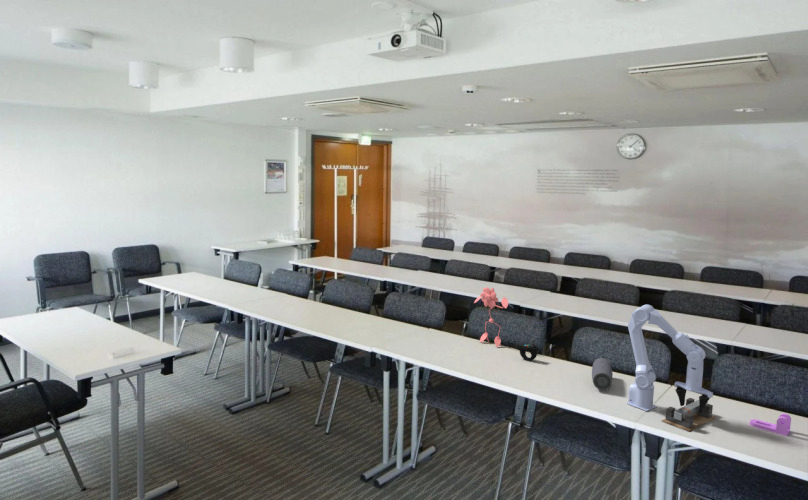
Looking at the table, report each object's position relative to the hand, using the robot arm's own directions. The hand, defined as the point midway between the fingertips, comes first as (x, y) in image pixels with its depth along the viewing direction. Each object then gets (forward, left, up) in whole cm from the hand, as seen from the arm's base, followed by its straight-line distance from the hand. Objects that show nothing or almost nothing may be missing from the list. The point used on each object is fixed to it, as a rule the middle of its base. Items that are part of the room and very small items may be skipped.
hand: (691, 408), depth 224 cm
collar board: (0, -2, -4) cm, 5 cm away
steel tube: (0, 0, -2) cm, 2 cm away
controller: (-88, 0, -5) cm, 88 cm away
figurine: (-118, 0, -5) cm, 118 cm away
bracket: (+22, +17, -5) cm, 29 cm away
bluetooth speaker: (-44, +3, -5) cm, 44 cm away
